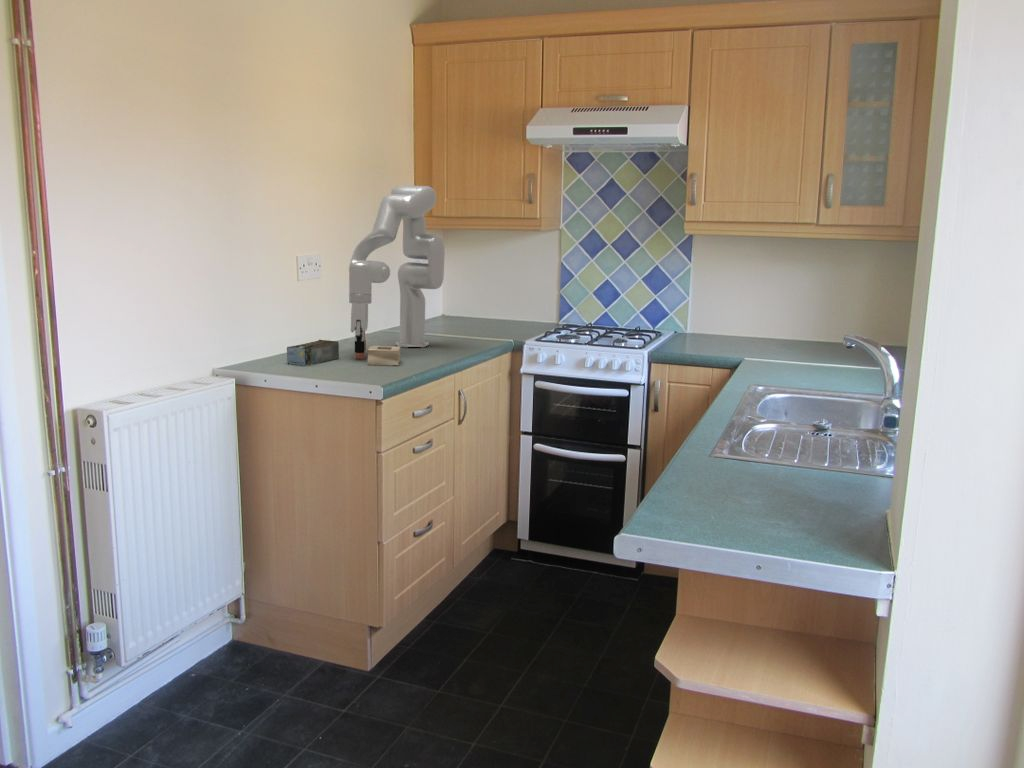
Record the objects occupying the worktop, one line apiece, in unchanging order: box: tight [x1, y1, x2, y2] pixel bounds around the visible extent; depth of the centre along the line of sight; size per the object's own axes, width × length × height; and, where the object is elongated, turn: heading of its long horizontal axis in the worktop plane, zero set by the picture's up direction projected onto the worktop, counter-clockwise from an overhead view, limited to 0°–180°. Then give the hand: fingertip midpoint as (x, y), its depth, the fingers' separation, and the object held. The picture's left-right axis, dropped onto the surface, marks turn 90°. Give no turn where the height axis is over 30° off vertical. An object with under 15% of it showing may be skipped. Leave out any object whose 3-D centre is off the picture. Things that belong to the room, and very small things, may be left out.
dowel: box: [355, 331, 366, 360], centre depth 296 cm, size 3×3×9 cm
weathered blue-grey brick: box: [286, 339, 340, 367], centre depth 288 cm, size 8×19×7 cm, turn 156°
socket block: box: [367, 345, 401, 366], centre depth 290 cm, size 10×10×5 cm
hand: (360, 351), depth 297 cm, fingers closed on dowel, 3 cm apart
